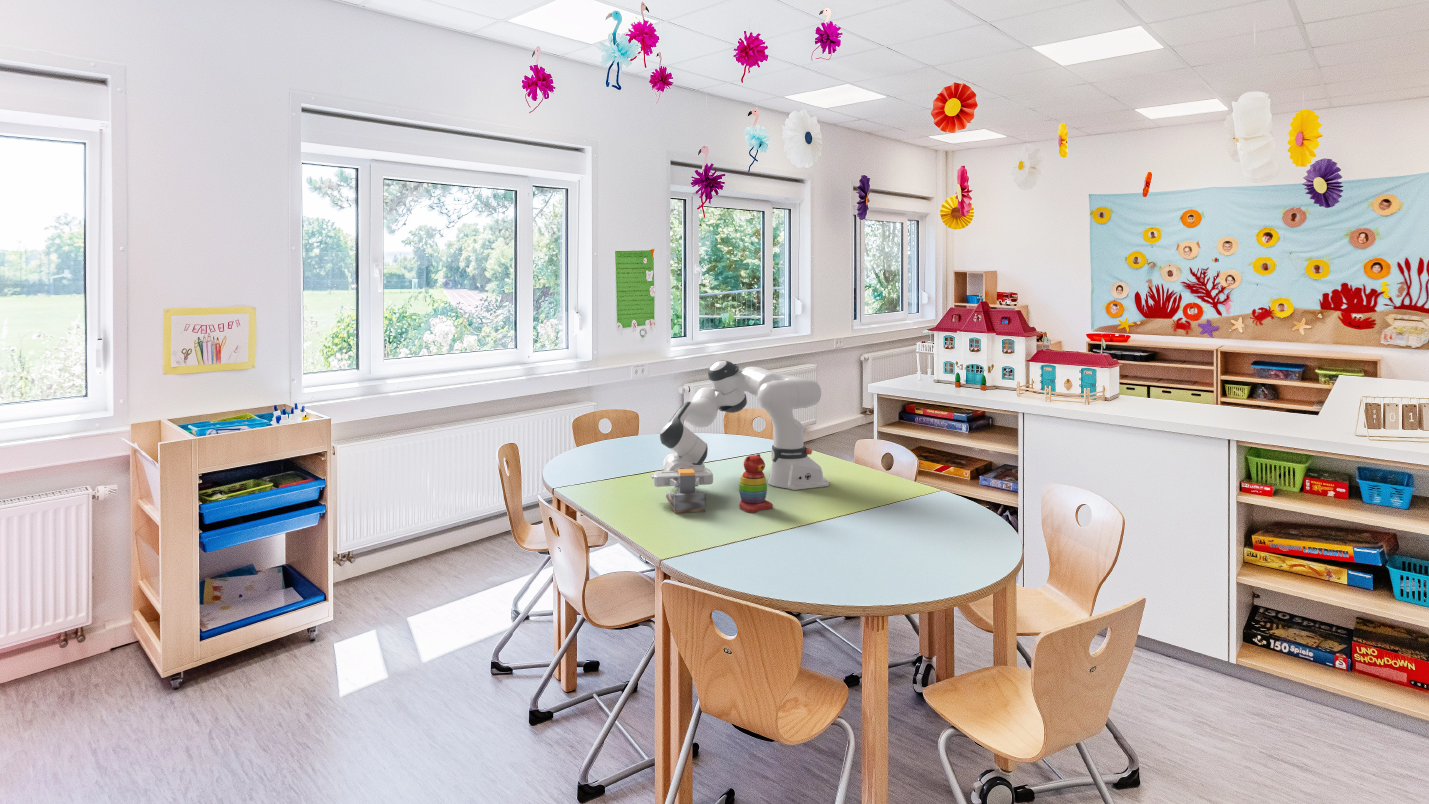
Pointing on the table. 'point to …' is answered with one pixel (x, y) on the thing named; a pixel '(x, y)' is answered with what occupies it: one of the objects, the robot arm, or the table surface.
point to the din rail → (686, 502)
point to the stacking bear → (753, 485)
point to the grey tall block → (686, 481)
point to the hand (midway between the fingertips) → (686, 484)
